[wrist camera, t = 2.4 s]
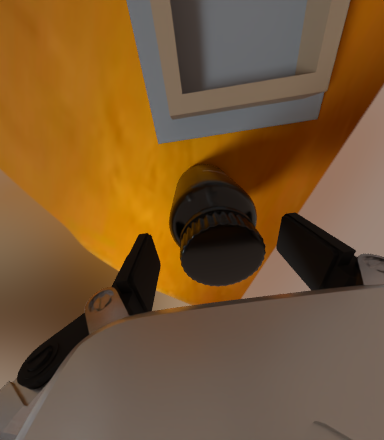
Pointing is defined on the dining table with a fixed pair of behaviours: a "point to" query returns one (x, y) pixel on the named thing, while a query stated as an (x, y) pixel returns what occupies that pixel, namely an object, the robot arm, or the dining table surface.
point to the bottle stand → (234, 62)
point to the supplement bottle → (215, 227)
